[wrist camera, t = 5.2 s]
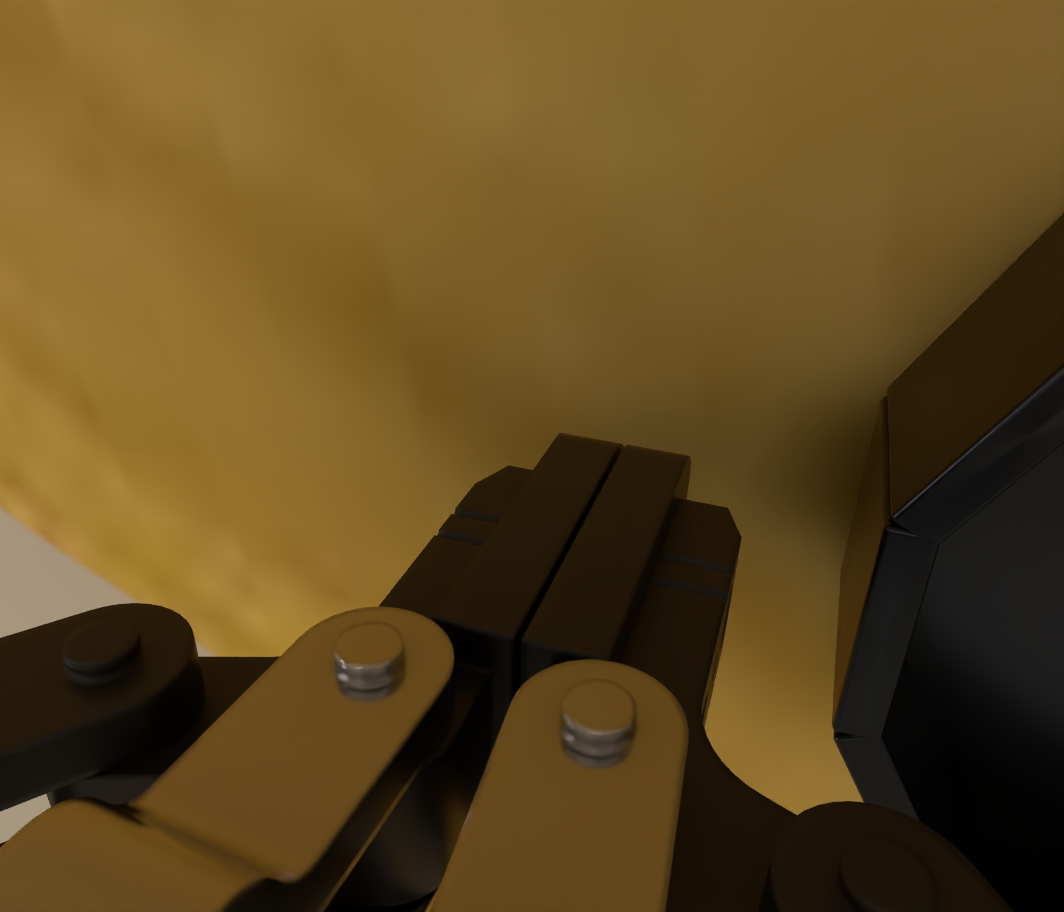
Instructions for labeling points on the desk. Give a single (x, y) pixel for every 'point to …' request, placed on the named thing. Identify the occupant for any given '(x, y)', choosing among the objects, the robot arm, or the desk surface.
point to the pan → (967, 589)
